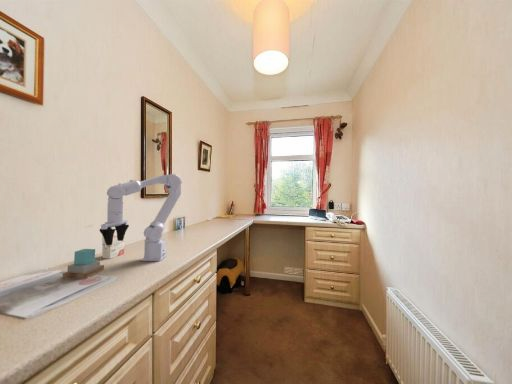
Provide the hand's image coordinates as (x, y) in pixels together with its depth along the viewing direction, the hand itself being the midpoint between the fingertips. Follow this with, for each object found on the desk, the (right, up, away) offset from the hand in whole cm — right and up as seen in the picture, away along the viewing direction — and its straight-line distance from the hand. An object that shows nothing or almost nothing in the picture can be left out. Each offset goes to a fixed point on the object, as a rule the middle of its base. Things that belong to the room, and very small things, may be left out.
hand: (114, 242), depth 91 cm
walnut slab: (-6, -11, -9) cm, 15 cm away
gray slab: (-6, -8, -10) cm, 14 cm away
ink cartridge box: (-10, -11, +14) cm, 20 cm away
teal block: (-6, -6, -9) cm, 12 cm away
